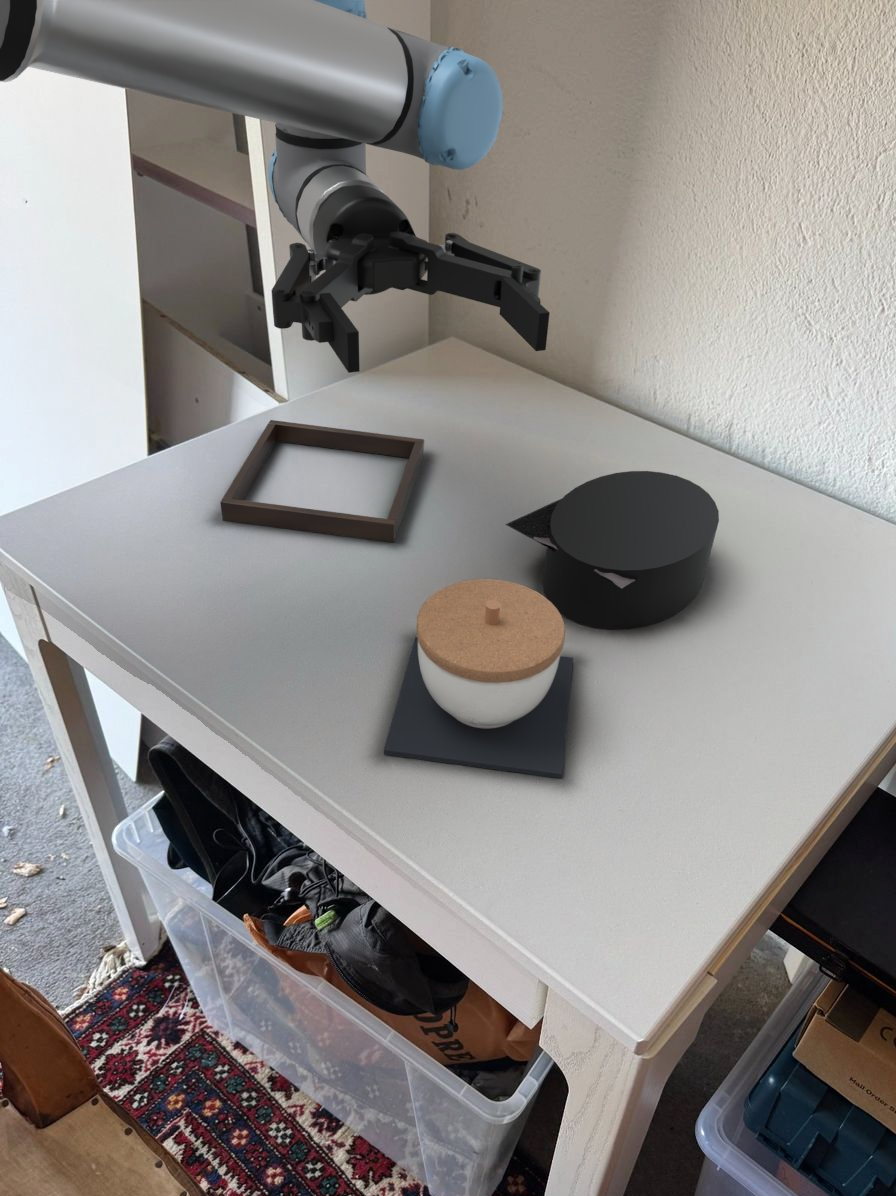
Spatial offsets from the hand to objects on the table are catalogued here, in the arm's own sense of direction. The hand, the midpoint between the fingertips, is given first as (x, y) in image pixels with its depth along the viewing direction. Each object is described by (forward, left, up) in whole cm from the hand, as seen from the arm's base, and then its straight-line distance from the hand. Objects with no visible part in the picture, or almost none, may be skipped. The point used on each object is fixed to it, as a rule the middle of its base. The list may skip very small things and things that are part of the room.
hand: (451, 342), depth 68 cm
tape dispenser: (+15, +12, -25) cm, 31 cm away
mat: (+5, -8, -25) cm, 27 cm away
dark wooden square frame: (-14, +20, -25) cm, 35 cm away
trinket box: (+5, -8, -25) cm, 26 cm away
